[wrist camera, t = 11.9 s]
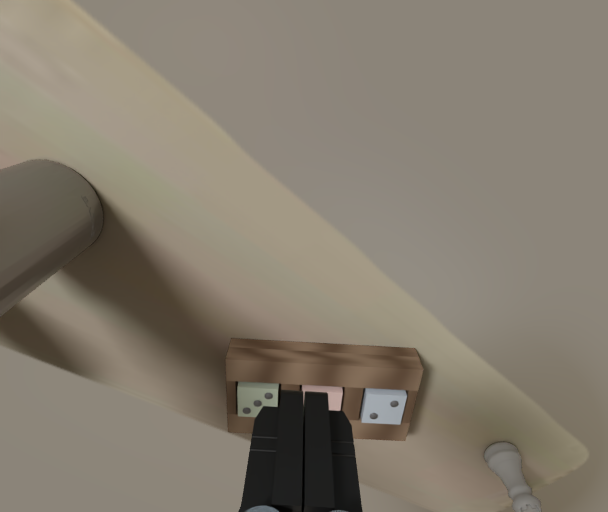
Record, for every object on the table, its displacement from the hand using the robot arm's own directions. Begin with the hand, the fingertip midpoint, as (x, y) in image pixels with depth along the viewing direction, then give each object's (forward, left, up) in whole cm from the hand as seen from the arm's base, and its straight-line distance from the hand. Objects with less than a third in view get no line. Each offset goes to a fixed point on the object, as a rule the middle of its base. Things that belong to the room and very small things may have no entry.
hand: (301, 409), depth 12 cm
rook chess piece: (+28, -34, -26) cm, 51 cm away
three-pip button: (-4, -23, -24) cm, 34 cm away
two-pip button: (+10, -23, -24) cm, 35 cm away
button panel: (+3, -23, -26) cm, 35 cm away
